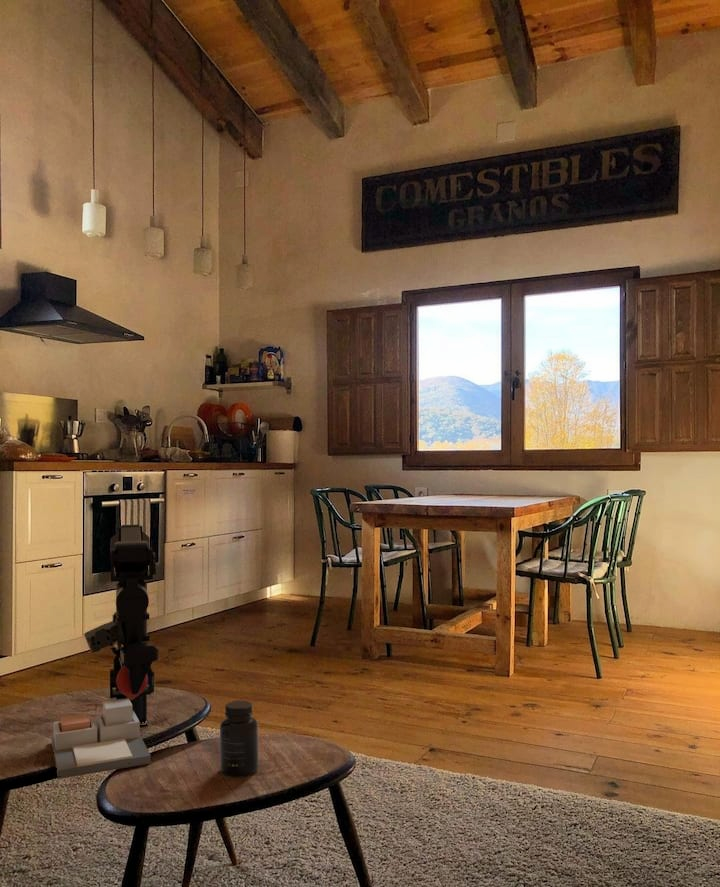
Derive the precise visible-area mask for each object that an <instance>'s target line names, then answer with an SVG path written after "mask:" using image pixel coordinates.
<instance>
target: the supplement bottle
mask: <svg viewBox="0 0 720 887" xmlns="http://www.w3.org/2000/svg"><path fill="white" fill-rule="evenodd" d="M224 706H225V707H224V708H225V709H224V711H225V712H224V716H225V718H223V719H222V720H221V723H220V724H219V754H220V757H219V758H220V759H219V760H220V762H219V763H220V764H219V765H220V771H221V773H222V774H223V775H224V776H227V777H230V778H242V777H244V778H245V777H247V776H251V775H253V774H254V773H255V772H257V770H258V768H259V724H258V721H257V719H256V717H254V716H253V713H254V712H253V703H252V701H248V700H245V699H244V700H243V699H242V700H240V699H239V700H232V701H229V702H227V703H225V705H224Z"/></svg>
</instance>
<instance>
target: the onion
mask: <svg viewBox="0 0 720 887" xmlns="http://www.w3.org/2000/svg"><path fill="white" fill-rule="evenodd" d="M116 684H117V688H118V689H119V691H120V692H121V693H122V694H123V695H125V696H126V697H127V698H128V699H129V700H133V699H135V698H136V697H137V696H138V695H140V694H141V693H142V692H143V691H144V690H145V688H146V686H148V685H147V684H148V676H147V674H146V677H145V679H144V681H143V683H142V686H141V688H140V690H139V692H138V694H132V692H131V687H130V681H129V675H128V669H127V667H126V666H123V667H122V668H121V670H120V671H119V673H118V675H117V678H116Z"/></svg>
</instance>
